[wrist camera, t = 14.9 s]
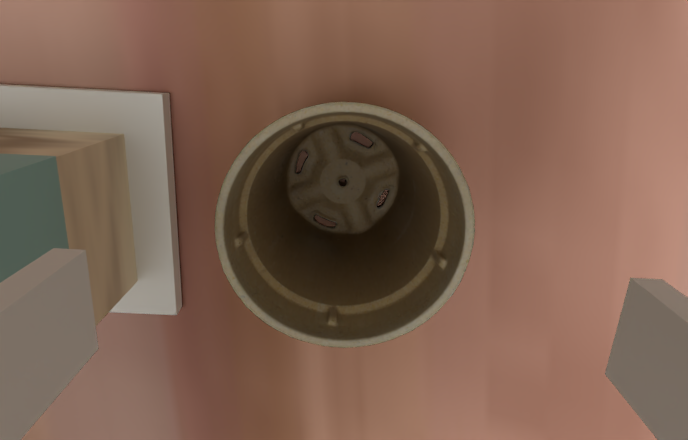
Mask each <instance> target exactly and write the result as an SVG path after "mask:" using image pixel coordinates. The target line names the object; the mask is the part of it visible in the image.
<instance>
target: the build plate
mask: <svg viewBox="0 0 688 440" xmlns="http://www.w3.org/2000/svg"><path fill="white" fill-rule="evenodd" d="M0 128H18V129H38V130H57V131H77V132H96V133H115V134H124V138H125V149H126V160H127V170H128V181H129V192H130V203H131V214H132V225H133V236H134V247H135V258H136V268H137V279H138V281H137V282H136V283H135V285H134V286H133V287H132V288H131V289H130V290H129V291H128V292H127V293H126V294H125V295H124V296H123V297H122V299H121V300H120V301H119V302H118V303H117V304H116V305H115V306H114V307H113V308H112V309H111V310H110V311H109V312H116V313H138V314H160V315H177V314H178V312H179V311H180V309H181V308H182V294H181V277H180V261H179V244H178V228H177V211H176V195H175V179H174V162H173V146H172V129H171V113H170V97H169V93H161V92H142V91H123V90H104V89H85V88H66V87H47V86H28V85H9V84H0Z"/></svg>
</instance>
